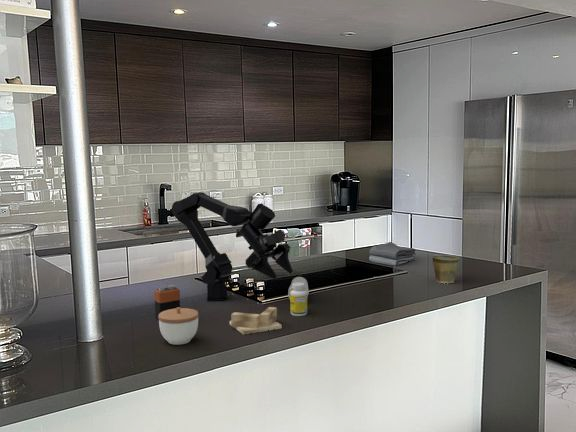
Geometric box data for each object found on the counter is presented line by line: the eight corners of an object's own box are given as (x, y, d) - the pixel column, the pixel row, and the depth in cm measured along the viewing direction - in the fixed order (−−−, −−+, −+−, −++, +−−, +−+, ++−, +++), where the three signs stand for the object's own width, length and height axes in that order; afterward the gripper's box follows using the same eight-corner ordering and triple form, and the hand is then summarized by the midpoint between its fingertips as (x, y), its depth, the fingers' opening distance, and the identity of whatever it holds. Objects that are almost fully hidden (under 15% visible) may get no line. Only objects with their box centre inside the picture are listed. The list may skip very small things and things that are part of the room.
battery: (181, 317, 174) (180, 286, 173) (160, 321, 170) (159, 289, 169) (174, 314, 177) (173, 283, 176) (154, 318, 173) (153, 286, 172)
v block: (225, 324, 166) (225, 310, 166) (269, 317, 173) (269, 303, 172) (239, 335, 156) (239, 320, 156) (285, 327, 163) (285, 312, 162)
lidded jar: (205, 342, 151) (204, 309, 150) (167, 350, 145) (166, 315, 144) (189, 332, 160) (188, 300, 159) (153, 339, 154) (152, 306, 153)
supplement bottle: (289, 311, 179) (289, 281, 178) (306, 311, 180) (306, 281, 178) (291, 316, 174) (290, 286, 172) (308, 316, 174) (308, 285, 173)
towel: (367, 262, 255) (367, 246, 254) (389, 256, 269) (389, 240, 268) (396, 267, 245) (396, 250, 244) (417, 261, 259) (417, 244, 258)
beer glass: (305, 296, 202) (304, 307, 187) (287, 290, 202) (284, 301, 187) (311, 279, 201) (311, 288, 186) (293, 273, 201) (291, 281, 186)
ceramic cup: (457, 286, 210) (458, 260, 209) (430, 284, 214) (430, 258, 212) (460, 278, 222) (460, 254, 221) (434, 276, 226) (435, 252, 224)
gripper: (252, 226, 171) (282, 264, 167) (285, 219, 187) (313, 254, 182) (232, 249, 176) (261, 287, 172) (266, 240, 192) (293, 275, 187)
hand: (284, 275), depth 178 cm, fingers open, 9 cm apart
